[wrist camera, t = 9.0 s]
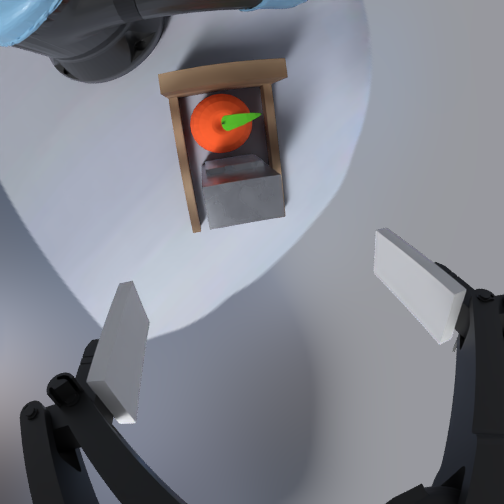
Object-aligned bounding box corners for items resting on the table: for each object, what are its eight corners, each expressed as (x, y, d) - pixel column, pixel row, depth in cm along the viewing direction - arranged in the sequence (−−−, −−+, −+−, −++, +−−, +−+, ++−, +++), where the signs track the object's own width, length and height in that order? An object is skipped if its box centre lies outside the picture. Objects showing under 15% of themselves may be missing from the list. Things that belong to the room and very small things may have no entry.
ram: (200, 161, 36) (200, 180, 25) (256, 152, 36) (280, 168, 26) (206, 195, 38) (210, 229, 27) (260, 186, 39) (284, 216, 28)
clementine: (248, 87, 33) (258, 81, 26) (261, 139, 36) (274, 144, 30) (184, 105, 33) (180, 101, 26) (199, 156, 36) (199, 165, 29)
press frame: (168, 84, 31) (158, 74, 23) (265, 70, 32) (285, 58, 24) (193, 227, 40) (192, 257, 31) (281, 211, 41) (302, 237, 33)
